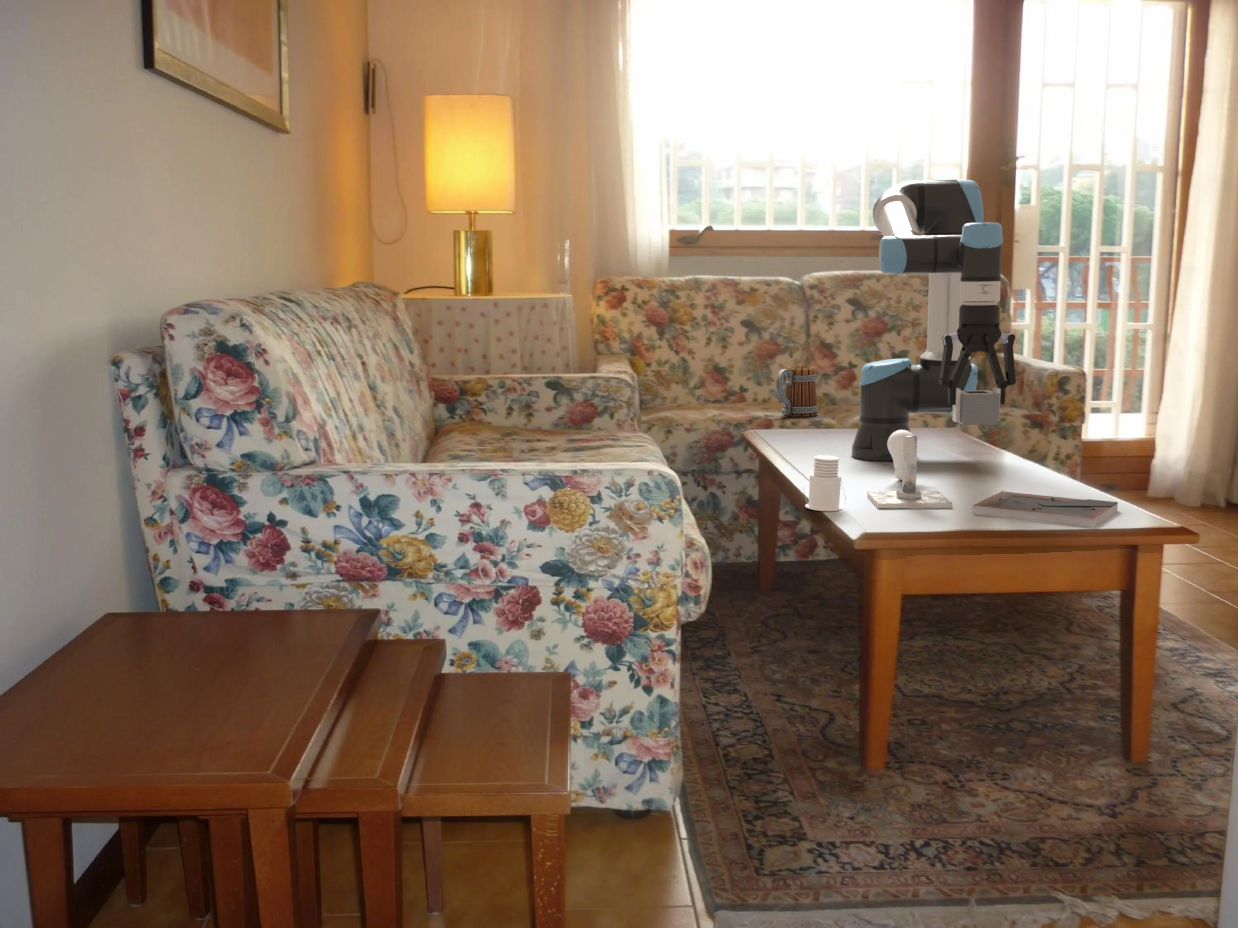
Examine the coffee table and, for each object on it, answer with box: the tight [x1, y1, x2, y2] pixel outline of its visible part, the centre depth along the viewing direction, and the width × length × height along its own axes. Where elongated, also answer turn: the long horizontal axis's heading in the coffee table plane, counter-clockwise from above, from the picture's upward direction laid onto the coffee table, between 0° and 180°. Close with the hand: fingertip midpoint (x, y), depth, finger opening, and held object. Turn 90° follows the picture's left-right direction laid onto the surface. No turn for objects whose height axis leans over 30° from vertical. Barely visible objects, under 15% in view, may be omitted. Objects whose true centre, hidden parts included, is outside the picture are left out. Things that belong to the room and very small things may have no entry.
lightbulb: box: [887, 430, 915, 481], centre depth 249 cm, size 6×6×11 cm
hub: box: [956, 389, 1001, 426], centre depth 229 cm, size 7×7×6 cm
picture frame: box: [971, 491, 1119, 529], centre depth 216 cm, size 16×2×22 cm
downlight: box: [803, 455, 847, 512], centre depth 222 cm, size 8×7×10 cm
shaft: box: [866, 434, 953, 509], centre depth 226 cm, size 12×14×13 cm
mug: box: [775, 365, 819, 418], centre depth 358 cm, size 16×11×15 cm
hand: (975, 421), depth 229 cm, fingers closed on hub, 7 cm apart
